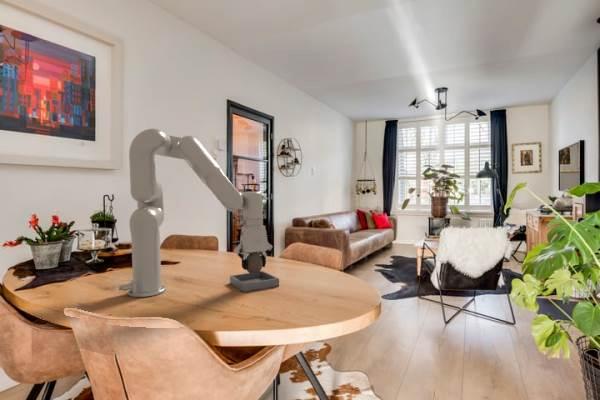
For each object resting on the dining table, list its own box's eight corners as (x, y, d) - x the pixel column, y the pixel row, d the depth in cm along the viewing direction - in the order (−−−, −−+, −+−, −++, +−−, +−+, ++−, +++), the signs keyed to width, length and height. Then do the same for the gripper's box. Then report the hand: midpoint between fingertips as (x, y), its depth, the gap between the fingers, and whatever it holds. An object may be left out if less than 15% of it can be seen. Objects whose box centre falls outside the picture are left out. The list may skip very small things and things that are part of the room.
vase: (261, 274, 128) (261, 251, 128) (243, 274, 128) (243, 252, 128) (263, 270, 135) (263, 248, 135) (246, 270, 135) (246, 248, 135)
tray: (243, 292, 122) (243, 284, 121) (229, 283, 134) (229, 275, 134) (279, 286, 129) (279, 278, 129) (262, 277, 142) (262, 270, 142)
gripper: (235, 225, 123) (236, 273, 124) (277, 222, 132) (277, 266, 133) (228, 223, 129) (229, 269, 130) (268, 220, 139) (269, 263, 139)
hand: (254, 267), depth 131 cm, fingers closed on vase, 6 cm apart
